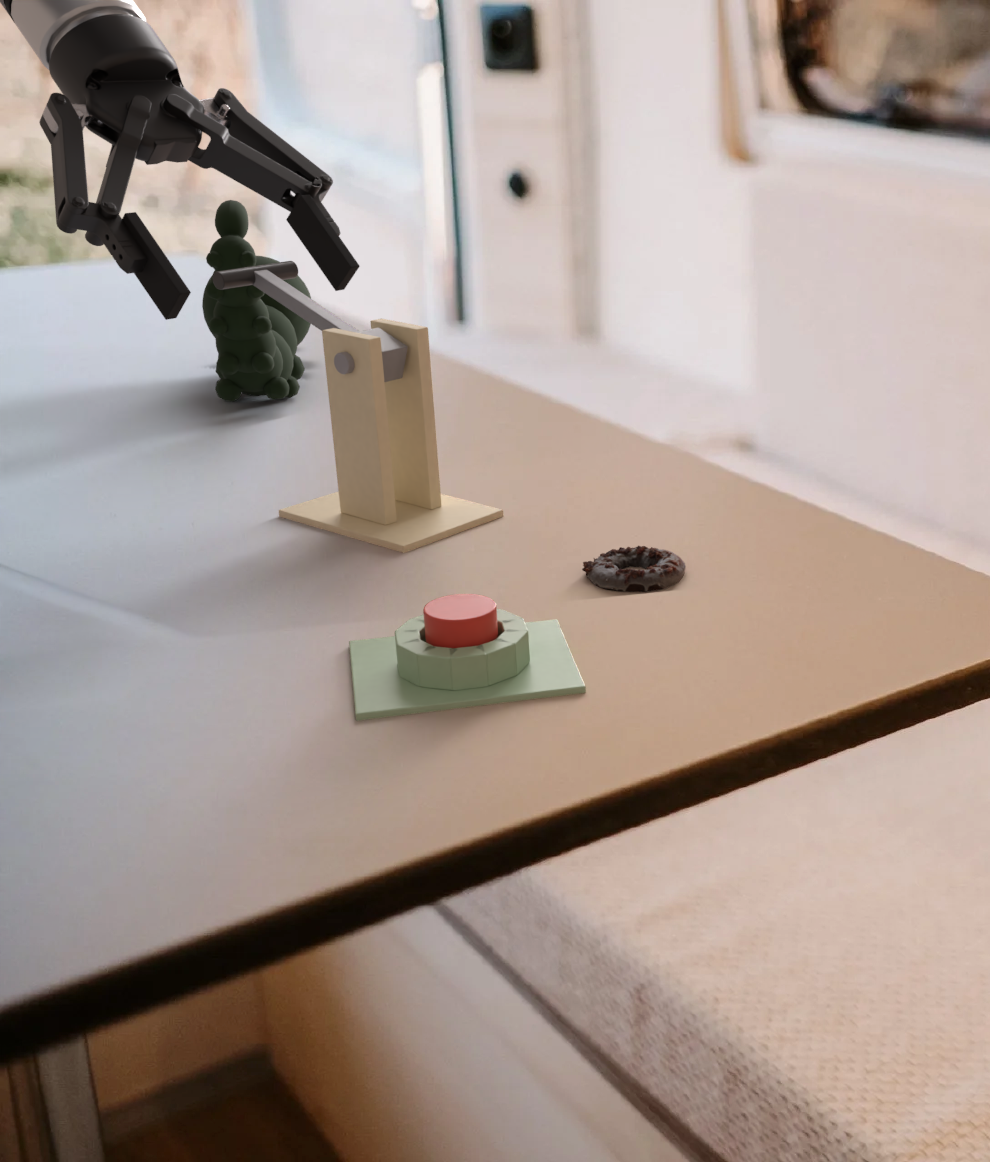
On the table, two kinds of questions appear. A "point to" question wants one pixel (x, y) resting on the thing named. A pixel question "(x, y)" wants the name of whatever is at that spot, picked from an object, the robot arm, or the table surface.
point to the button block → (461, 669)
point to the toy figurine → (250, 320)
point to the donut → (658, 574)
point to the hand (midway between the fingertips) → (268, 292)
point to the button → (460, 621)
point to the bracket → (385, 447)
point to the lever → (309, 307)
